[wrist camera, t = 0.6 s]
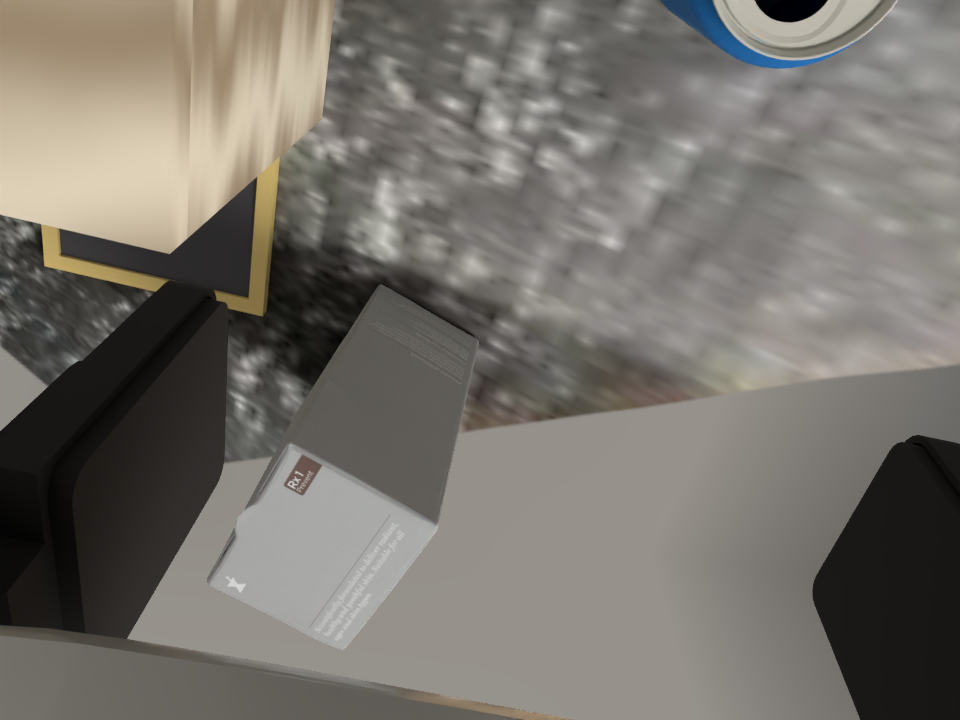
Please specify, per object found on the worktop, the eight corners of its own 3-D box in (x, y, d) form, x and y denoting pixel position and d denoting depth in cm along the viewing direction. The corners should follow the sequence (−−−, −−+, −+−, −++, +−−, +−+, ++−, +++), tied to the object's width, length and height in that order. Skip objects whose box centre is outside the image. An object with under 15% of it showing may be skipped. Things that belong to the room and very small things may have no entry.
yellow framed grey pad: (38, 76, 36) (29, 79, 35) (281, 135, 36) (277, 139, 36) (52, 260, 40) (44, 266, 40) (266, 310, 41) (262, 316, 40)
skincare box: (413, 439, 45) (355, 668, 31) (304, 382, 43) (192, 596, 30) (488, 333, 41) (459, 542, 27) (370, 266, 39) (277, 451, 26)
